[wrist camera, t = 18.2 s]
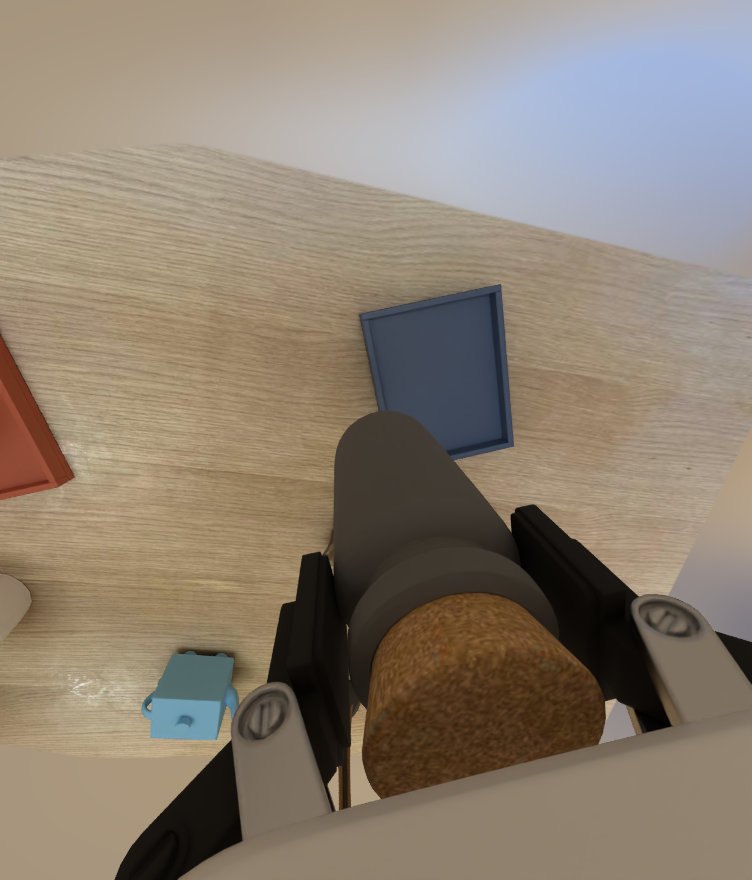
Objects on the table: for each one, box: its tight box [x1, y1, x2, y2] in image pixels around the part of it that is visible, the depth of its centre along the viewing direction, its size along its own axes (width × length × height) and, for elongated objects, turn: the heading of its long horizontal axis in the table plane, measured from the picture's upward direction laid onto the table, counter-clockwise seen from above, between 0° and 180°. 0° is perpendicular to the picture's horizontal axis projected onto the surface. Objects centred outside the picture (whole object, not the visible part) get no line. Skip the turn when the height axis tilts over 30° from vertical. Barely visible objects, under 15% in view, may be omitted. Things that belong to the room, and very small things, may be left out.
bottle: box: [333, 411, 606, 799], centre depth 14 cm, size 6×6×15 cm
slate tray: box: [359, 284, 514, 460], centre depth 37 cm, size 16×13×2 cm
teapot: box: [142, 651, 239, 740], centre depth 43 cm, size 12×6×8 cm, turn 78°
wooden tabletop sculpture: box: [338, 680, 360, 810], centre depth 40 cm, size 6×5×20 cm
